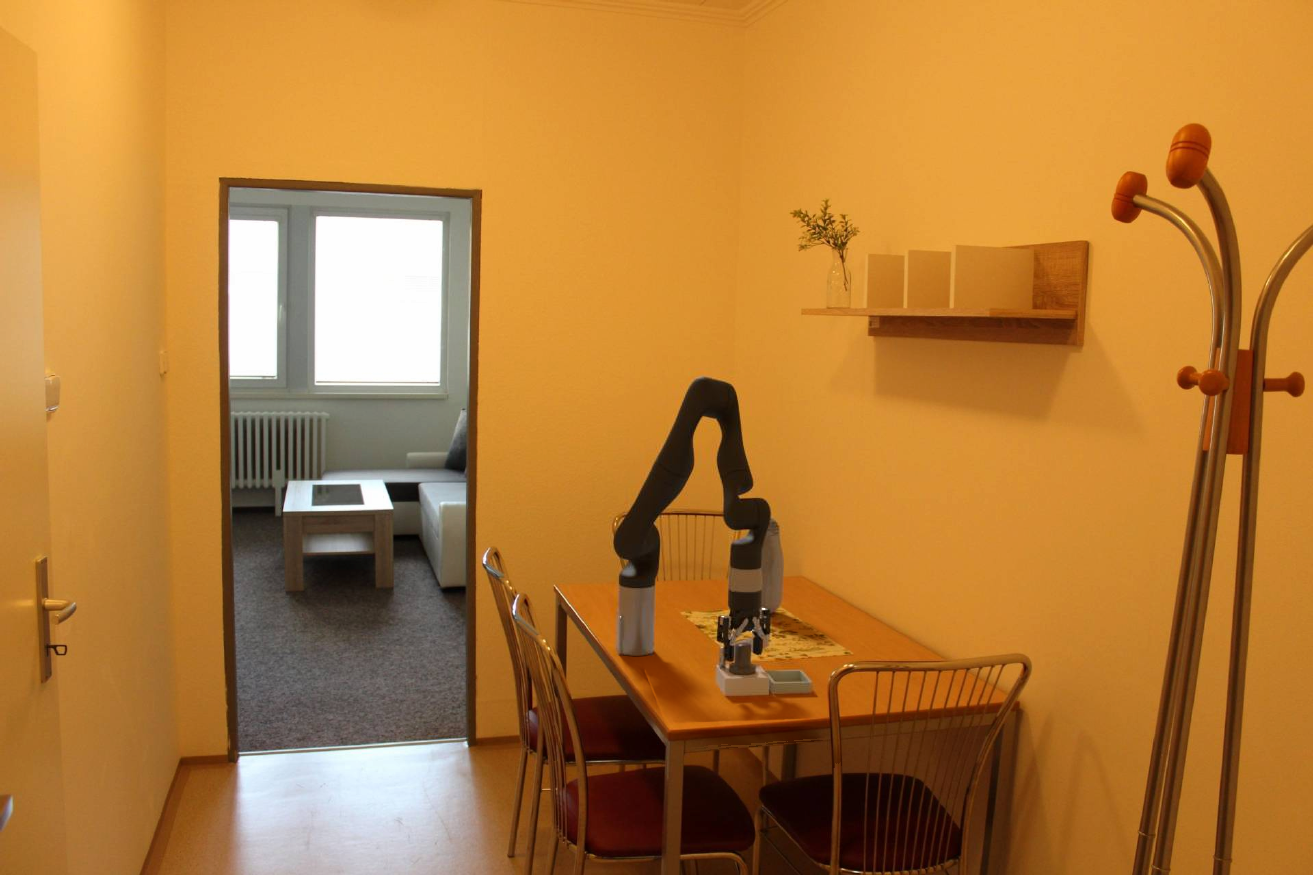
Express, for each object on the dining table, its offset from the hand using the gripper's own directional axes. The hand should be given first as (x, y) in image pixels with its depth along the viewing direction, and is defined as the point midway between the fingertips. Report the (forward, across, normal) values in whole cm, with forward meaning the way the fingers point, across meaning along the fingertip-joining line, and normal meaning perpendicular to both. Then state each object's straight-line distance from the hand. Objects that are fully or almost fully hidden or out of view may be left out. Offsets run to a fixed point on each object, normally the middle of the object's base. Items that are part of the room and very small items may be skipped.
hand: (743, 657), depth 240 cm
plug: (+7, 0, 0) cm, 7 cm away
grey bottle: (+8, -53, -48) cm, 72 cm away
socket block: (+8, 0, 0) cm, 8 cm away
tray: (+7, -9, +5) cm, 13 cm away
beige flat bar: (+3, -6, -6) cm, 9 cm away
